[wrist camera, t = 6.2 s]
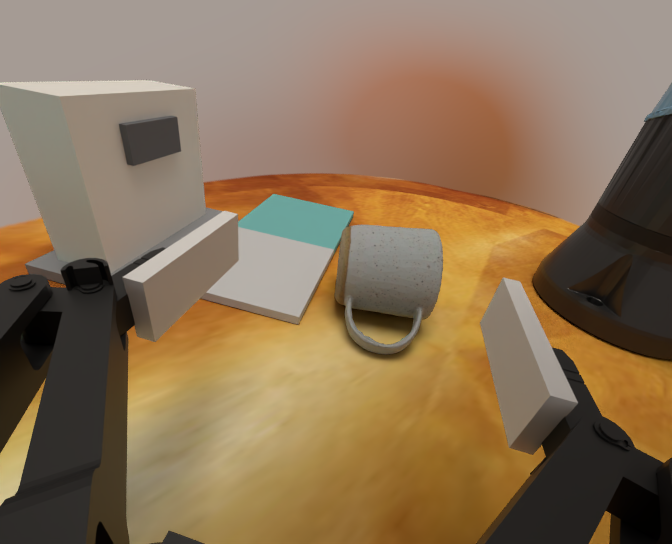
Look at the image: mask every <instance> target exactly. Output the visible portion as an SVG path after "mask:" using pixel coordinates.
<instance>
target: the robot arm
mask: <svg viewBox="0 0 672 544" xmlns="http://www.w3.org/2000/svg"><path fill="white" fill-rule="evenodd" d="M644 122H645V124H644V126H643V127H642V129H641V131H640V132H639V134H638V136H637V138H636V139H635V141H634V143H633V144H632V146H631V148H630V149H629V151H628V153H627V154H626V156H625V158H624V159H623V161H622V163H621V164H620V166H619V168H618V169H617V171H616V173H615V174H614V176H613V178H612V179H611V181H610V183H609V184H608V186H607V188H606V189H605V191H604V193H603V195H602V196H601V198H600V199H599V201H598V203H597V205H596V206H595V208H594V210H593V211H592V213H591V215H590V216H589V218H588V219H587V221H586V222H585V223H584V224H583V225H582V226H580V227H579V228H578V229H577V230H576V231H575V232H574V233H572V234H571V235H570V236H569V237H568V238H567V239H565V240H564V241H563V242H562V243H561V244H560V245H559V246H558V247H556V248H555V249H554V250H553V251H552V252H551V253H550V254H549V255H547V256H546V257H545V258H544V259H543V260H542V262H541V264H540V265H539V267H538V269H537V271H536V272H535V274H534V276H533V284H534V286H535V289H536V290H537V292H538V293H539V295H540V296H541V297H542V298H543V299H544V300H545V301H546V302H547V303H548V304H549V305H550V306H551V307H552V308H553V309H554V310H556V311H557V312H558V313H559V314H561V315H562V316H563V317H565V318H566V319H568V320H569V321H571V322H572V323H574V324H575V325H577V326H579V327H580V328H582V329H584V330H586V331H588V332H589V333H591V334H593V335H595V336H597V337H599V338H601V339H603V340H605V341H608V342H610V343H612V344H615V345H617V346H620V347H622V348H625V349H628V350H631V351H634V352H637V353H640V354H644V355H647V356H652V357H656V358H662V359H670V360H672V83H671V85H670V86H669V88H668V90H667V91H666V92H665V94H664V95H663V97H662V98H661V100H660V101H659V102H658V104H657V105H656V107H655V108H654V110H653V111H652V113H651V114H649V115H647V117H646V118H645V120H644ZM238 261H239V249H238V214H235V213H231V212H227V211H223V212H221V213H220V214H218V215H217V216H215V217H214V218H212V219H211V220H209V221H208V222H206V223H205V224H203V225H201V226H200V227H198V228H197V229H195V230H194V231H192V232H191V233H189V234H188V235H186V236H185V237H183V238H182V239H180V240H179V241H177V242H175V243H174V244H172V245H171V246H169V247H168V248H164V247H162V248H159V249H156V250H153V251H150V252H149V253H147V254H145V255H144V256H142V257H141V259H137V260H136V261H134V262H133V264H132V263H131V264H130V265H128V266H126V267H125V268H123V269H122V270H120V271H118V272H117V273H115V274H114V275H112V276H111V272H110V269H109V265H108V262H107V261H105V260H103V259H99V258H84V259H79V260H75V261H73V262H70V263H68V264H66V265H65V266H63V268H62V269H61V270H60V271H61V274H62V277H63V279H64V282H65V285H66V288H57V287H50V285H49V282H48V280H47V278H46V277H44V276H42V275H36V274H29V275H20V276H16V277H13V278H11V279H8V280H6V281H4V282H2V283H1V284H0V453H1V451H2V450H3V448H4V446H5V445H6V443H7V441H8V440H9V438H10V436H11V435H12V433H13V431H14V430H15V428H16V426H17V425H18V423H19V421H20V420H21V418H22V416H23V415H24V413H25V411H26V410H27V408H28V407H29V405H30V403H31V402H32V400H33V398H34V397H35V395H36V393H37V392H38V390H39V388H40V387H41V385H42V383H43V382H44V380H45V378H46V381H45V385H44V389H43V393H42V397H41V401H40V405H39V409H38V413H37V417H36V421H35V425H34V429H33V433H32V437H31V441H30V446H29V450H28V454H27V458H26V462H25V466H24V470H23V474H22V478H21V482H20V486H19V489H18V491H17V493H16V494H15V496H13V497H10V498H8V499H5V501H4V502H3V503H2V505H1V506H0V544H129V536H128V530H127V522H126V476H127V400H128V335H127V331H128V330H129V329H130V328H131V327H133V326H135V330H136V334H137V337H140V338H144V339H147V340H150V341H154V342H156V341H157V340H158V339H159V338H160V337H161V336H162V335H163V334H164V333H165V332H166V331H167V330H168V329H169V328H170V327H171V326H172V325H173V324H174V323H175V322H176V321H177V320H178V319H179V318H180V317H181V316H182V315H183V314H184V313H185V312H186V311H187V310H188V309H189V308H191V307H192V306H193V305H194V304H195V303H196V302H197V301H198V300H199V299H200V298H201V297H202V296H203V295H204V294H205V293H206V292H207V291H208V290H209V289H210V288H211V287H212V286H213V285H214V284H215V283H216V282H217V281H218V280H219V279H220V278H221V277H222V276H223V275H224V274H225V273H226V272H227V271H228V270H229V269H231V268H232V267H233V266H234V265H235V264H236V263H237V262H238ZM480 324H481V329H482V333H483V337H484V342H485V346H486V350H487V355H488V359H489V363H490V368H491V372H492V376H493V381H494V385H495V389H496V394H497V398H498V402H499V406H500V411H501V415H502V419H503V424H504V428H505V432H506V437H507V441H508V445H509V448H512V449H515V450H518V451H522V452H525V453H528V454H532V455H533V454H534V453H535V452H536V451H537V449H538V448H539V447H540V446H541V445H542V446H543V449H544V452H545V455H546V457H545V458H544V459H543V460H542V461H541V463H540V464H539V465H538V466H537V467H536V468H535V469H534V470H533V471H532V472H531V473H530V476H529V478H528V479H527V480H526V481H525V483H524V484H523V485H522V486H521V488H520V489H519V490H518V492H517V493H516V494H515V495H514V497H513V498H512V499H511V500H510V502H509V503H508V504H507V505H506V507H505V508H504V509H503V510H502V512H501V513H500V514H499V515H498V517H497V518H496V519H495V520H494V522H493V523H492V524H491V525H490V527H489V528H488V529H487V530H486V532H485V533H484V534H483V535H482V537H481V538H480V539H479V541H478V542H477V543H476V544H589V542H590V540H591V538H592V536H593V534H594V532H595V530H596V528H597V526H598V524H599V522H600V520H601V518H602V516H603V515H604V513H605V511H608V512H609V513H611V523H610V543H609V544H672V458H670V459H669V460H668V461H666V462H665V463H663V462H661V461H659V460H657V459H655V458H653V457H651V456H649V455H647V454H646V453H644V452H642V451H640V450H638V449H636V448H635V447H634V444H633V442H632V440H631V439H630V437H629V436H628V435H627V434H626V433H625V431H624V430H622V429H621V428H620V427H619V426H618V425H616V424H615V423H614V422H612V421H610V420H609V419H607V418H605V417H603V416H602V415H601V413H600V411H599V409H598V407H597V405H596V404H595V402H594V400H593V398H592V396H591V394H590V392H589V390H588V388H587V387H586V385H584V381H583V379H582V377H581V375H579V371H578V370H577V368H576V366H575V364H574V362H573V361H572V360H571V359H570V358H569V357H568V356H567V355H566V354H565V352H564V351H563V350H560V349H556V348H552V347H551V345H550V343H549V341H548V339H547V337H546V335H545V333H544V330H543V328H542V326H541V324H540V322H539V320H538V318H537V316H536V314H535V312H534V310H533V307H532V305H531V303H530V301H529V299H528V297H527V295H526V293H525V291H524V289H523V286H522V284H521V282H519V281H515V280H511V279H507V278H503V279H502V281H501V283H500V285H499V287H498V289H497V290H496V292H495V294H494V296H493V298H492V300H491V302H490V304H489V306H488V308H487V310H486V312H485V314H484V316H483V318H482V320H481V322H480ZM151 544H204V543H201V542H198V541H196V540H193V539H190V538H188V537H185V536H182V535H180V534H177V533H174V532H172V531H168V533H167V535H166V537H165V539H164V540H163V542H158V543H151Z"/></svg>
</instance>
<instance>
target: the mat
mask: <svg viewBox="0 0 672 544" xmlns="http://www.w3.org/2000/svg"><path fill="white" fill-rule="evenodd" d="M353 214H354V212H353V211H349V210H344V209H340V208H335V207H331V206H326V205H322V204H317V203H313V202H308V201H303V200H299V199H294V198H290V197H285V196H281V195H276V194H273V195H272V196H271V197H269V198H268V199H267V200H265V201H264V202H263V203H262V204H260V205H259V206H258V207H257V208H255V209H254V210H253V211H251V212H250V213H249V214H248V215H246V216H245V217H244V218H242V219H241V220H240V221H239V222H238V249H239V261H238V262H237V263H236V264H235V265H234V266H233V267H232V268H231V269H229V270H228V271H227V272H226V273H225V274H224V275H223V276H222V277H221V278H220V279H219V280H218V281H217V282H216V283H215V284H214V285H213V286H212V287H211V288H210V289H209V290H208V291H207V292H206V293H205V294H204V295H203V296H202V297H201V299H205V300H208V301H212V302H216V303H220V304H223V305H227V306H231V307H234V308H238V309H242V310H246V311H249V312H253V313H257V314H261V315H264V316H268V317H272V318H275V319H279V320H283V321H287V322H290V323H294V324H299V322H300V321H301V319H302V317H303V315H304V313H305V311H306V309H307V307H308V305H309V303H310V301H311V299H312V297H313V295H314V293H315V291H316V289H317V287H318V285H319V283H320V281H321V279H322V277H323V275H324V273H325V271H326V269H327V267H328V265H329V263H330V261H331V259H332V257H333V255H334V253H335V251H336V249H337V247H338V245H339V243H340V241H341V235H342V231H343V230H344V229H345V228H346V227H348V226H349V224H350V222H351V220H352V218H353Z"/></svg>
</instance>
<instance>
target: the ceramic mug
mask: <svg viewBox="0 0 672 544" xmlns="http://www.w3.org/2000/svg"><path fill="white" fill-rule="evenodd" d="M442 271H443V251H442V244H441V240H440V236H439V234H438V233H437V232H436V231H435V230H432V229H417V228H401V227H385V226H375V225H355V226H348V227H346V228H345V229H344V230H343V231H342V235H341V243H340V251H339V260H338V269H337V279H336V287H335V299H336V301H337V302H338V303H339V304H341V305H344V306H346V309H345V320H346V326H347V329H348V332H349V334H350V336H351V337H352V339H353V340H354V341H355V342H356V343H357V344H358V345H360V346H361V347H362V348H364V349H366V350H368V351H370V352H374V353H378V354H393V353H397V352H399V351H402V350H403V349H404V348H406V347H407V346H408V345H409V344H410V342H411V341H412V340H413V338H414V337H415V335H416V334H417V332H418V329H419V327H420V323H421V319H426V318H428V316H430V314H431V312H432V311H433V309H434V306H435V304H436V302H437V299H438V294H439V291H440V286H441V279H442ZM351 308H354V309H360V310H367V311H375V312H380V313H385V314H390V315H396V316H402V317H408V318H414V321H413V326H412V329H411V332H410V333H409V334H408V335H407V336H406V337H405V338H402V339H401V340H400V341H399V342H397V343H395V344H391V345H385V344H381V343H378V342H376V341H374V340H373V339H371V338H370V337H367V336H364V335H363V333H362V332H360V331H359V330H358V329H357V328H356V326H355V324H354V321H353V320H352V310H351Z"/></svg>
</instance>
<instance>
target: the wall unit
mask: <svg viewBox="0 0 672 544" xmlns="http://www.w3.org/2000/svg"><path fill="white" fill-rule="evenodd" d="M0 109H1V112H2V114H3V117H4V119H5V122H6V124H7V127H8V129H9V132H10V135H11V138H12V140H13V143H14V145H15V148H16V151H17V153H18V156H19V159H20V161H21V164H22V166H23V169H24V172H25V174H26V177H27V179H28V182H29V185H30V187H31V190H32V192H33V195H34V198H35V200H36V203H37V205H38V208H39V211H40V213H41V216H42V219H43V221H44V224H45V226H46V229H47V232H48V234H49V237H50V240H51V242H52V245H53V247H54V251H52V252H50V253H47V254H45V255H43V256H41V257H39V258H37V259H35V260H33V261H30V262H28V263H26V264H25V266H26V268H27V270H28V272H29V274H36V275H42V276H44V277H46V278H47V279H48V280H51V281H55V282H59V283H62V284H65V282H64V279H63V277H62V274H61V271H60V270H61V269H62V268H63V266H65V265H66V264H68V263H70V262H73V261H75V260H79V259H84V258H99V259H103V260H105V261H107V262H108V265H109V269H110V272H111V276H112V275H114V274H115V273H117V272H118V271H120V270H122V269H123V268H125V267H126V266H128V265H130V264H131V263H132V264H133V262H134V261H136V260H137V259H141V257H142V256H144V255H145V254H147V253H149V252H150V251H153V250H156V249H159V248H162V247H164V248H168V247H169V246H171V245H172V244H174V243H175V242H177V241H179V240H180V239H182V238H183V237H185V236H186V235H188V234H189V233H191V232H192V231H194V230H195V229H197V228H198V227H200V226H201V225H203V224H205V223H206V222H208V221H209V220H211V219H212V218H214V217H215V216H217V215H218V214H220V213H221V212H223V211H218V210H214V209H210V208H205V196H204V185H203V175H202V174H203V173H202V161H201V150H200V138H199V127H198V115H197V103H196V92H195V89H194V88H189V87H183V86H178V85H172V84H167V83H161V82H156V81H150V80H134V81H133V80H132V81H69V82H68V81H66V82H5V83H4V82H3V83H0Z"/></svg>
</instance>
